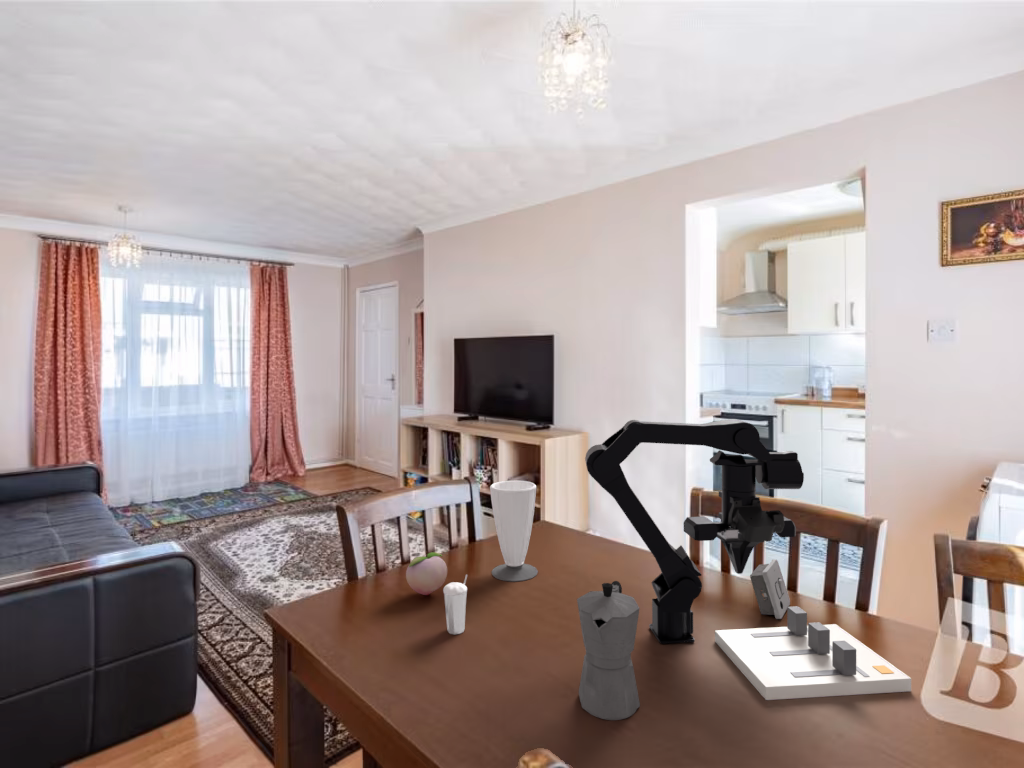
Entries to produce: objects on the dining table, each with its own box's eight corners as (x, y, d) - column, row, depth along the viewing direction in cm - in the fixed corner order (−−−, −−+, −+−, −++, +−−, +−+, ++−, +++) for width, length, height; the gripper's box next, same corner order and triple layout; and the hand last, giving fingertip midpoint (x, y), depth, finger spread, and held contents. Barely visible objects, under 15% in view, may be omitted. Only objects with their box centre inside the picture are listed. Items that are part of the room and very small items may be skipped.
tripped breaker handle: (843, 675, 81) (843, 650, 81) (832, 665, 84) (832, 641, 83) (856, 674, 81) (856, 649, 81) (844, 665, 84) (844, 640, 84)
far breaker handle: (796, 635, 93) (796, 613, 93) (787, 628, 96) (787, 606, 95) (807, 635, 93) (807, 612, 93) (798, 627, 96) (798, 606, 96)
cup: (538, 581, 124) (537, 490, 123) (490, 582, 124) (488, 491, 123) (537, 563, 135) (535, 479, 135) (492, 563, 135) (490, 480, 135)
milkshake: (475, 628, 102) (474, 577, 102) (454, 639, 98) (453, 586, 98) (460, 620, 105) (459, 571, 105) (439, 631, 101) (438, 579, 101)
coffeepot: (633, 737, 72) (632, 607, 71) (566, 721, 75) (564, 597, 74) (647, 675, 86) (646, 566, 85) (591, 664, 89) (589, 559, 89)
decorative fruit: (428, 608, 111) (427, 561, 111) (400, 599, 115) (399, 554, 115) (456, 591, 119) (455, 547, 119) (428, 584, 123) (427, 542, 123)
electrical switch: (780, 621, 103) (775, 573, 103) (752, 616, 106) (747, 570, 106) (791, 604, 110) (786, 559, 110) (764, 600, 113) (759, 557, 114)
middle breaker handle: (818, 654, 87) (818, 630, 87) (808, 645, 90) (808, 622, 89) (829, 653, 87) (829, 629, 87) (819, 645, 90) (819, 622, 90)
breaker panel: (766, 700, 79) (766, 686, 79) (714, 641, 96) (714, 629, 96) (911, 691, 81) (911, 677, 80) (835, 634, 98) (835, 623, 97)
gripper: (708, 501, 88) (708, 594, 88) (815, 497, 89) (815, 589, 89) (682, 486, 99) (682, 568, 99) (777, 483, 100) (778, 564, 101)
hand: (738, 572), depth 97 cm, fingers closed
